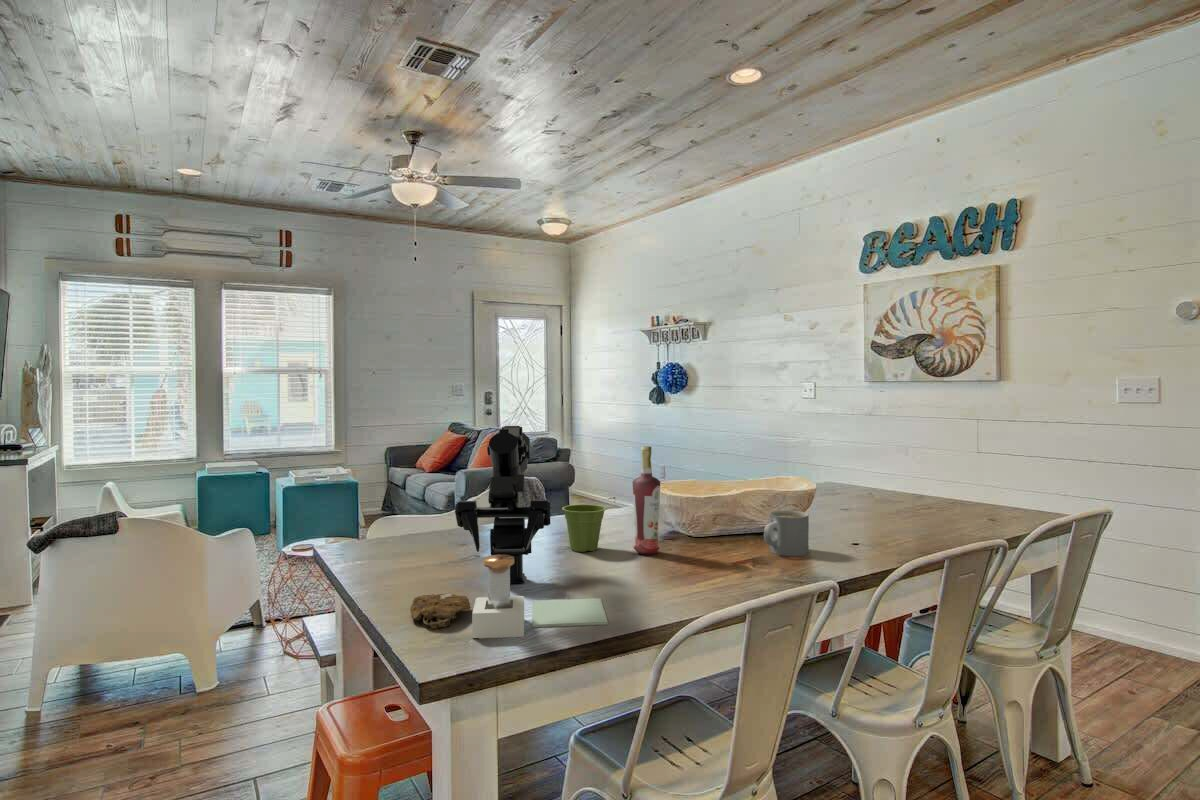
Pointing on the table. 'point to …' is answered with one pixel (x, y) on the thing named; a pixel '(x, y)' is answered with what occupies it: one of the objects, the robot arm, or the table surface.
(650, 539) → the liquor
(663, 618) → the table surface
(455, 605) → the decorative rock
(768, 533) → the coffee mug
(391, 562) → the table surface
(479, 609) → the collar
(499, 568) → the glass jar with lid
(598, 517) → the plant pot
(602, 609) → the sage mat
